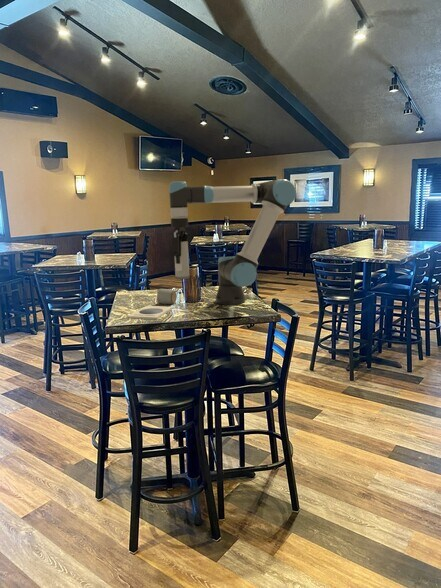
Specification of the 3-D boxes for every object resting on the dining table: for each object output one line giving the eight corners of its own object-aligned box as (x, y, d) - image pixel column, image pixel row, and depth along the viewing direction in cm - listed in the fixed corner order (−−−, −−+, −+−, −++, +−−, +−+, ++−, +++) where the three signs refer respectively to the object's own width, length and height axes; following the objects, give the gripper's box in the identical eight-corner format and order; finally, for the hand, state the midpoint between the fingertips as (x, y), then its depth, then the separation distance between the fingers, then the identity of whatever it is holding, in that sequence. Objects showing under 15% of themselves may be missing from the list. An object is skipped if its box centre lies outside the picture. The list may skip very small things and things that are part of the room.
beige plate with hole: (173, 308, 211) (173, 306, 210) (157, 319, 192) (156, 317, 192) (146, 307, 214) (146, 305, 214) (127, 317, 195) (127, 315, 195)
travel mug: (184, 276, 202) (182, 232, 198) (191, 278, 197) (189, 233, 193) (172, 277, 199) (170, 233, 195) (179, 279, 194) (177, 234, 189)
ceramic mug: (172, 305, 216) (171, 290, 215) (157, 305, 219) (156, 289, 217) (179, 301, 226) (179, 286, 225) (165, 300, 229) (164, 286, 227)
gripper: (178, 217, 202) (181, 266, 207) (163, 218, 184) (166, 272, 189) (194, 216, 200) (196, 266, 205) (180, 218, 182) (182, 273, 187)
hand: (181, 269), depth 197 cm, fingers closed on travel mug, 6 cm apart
